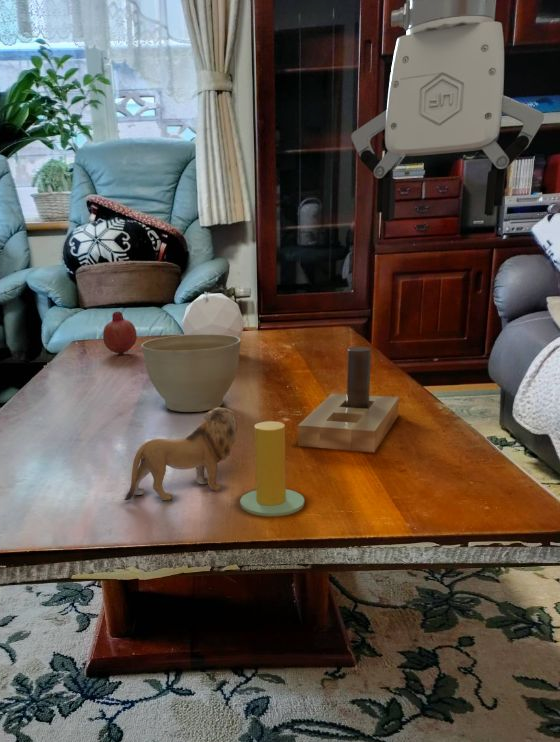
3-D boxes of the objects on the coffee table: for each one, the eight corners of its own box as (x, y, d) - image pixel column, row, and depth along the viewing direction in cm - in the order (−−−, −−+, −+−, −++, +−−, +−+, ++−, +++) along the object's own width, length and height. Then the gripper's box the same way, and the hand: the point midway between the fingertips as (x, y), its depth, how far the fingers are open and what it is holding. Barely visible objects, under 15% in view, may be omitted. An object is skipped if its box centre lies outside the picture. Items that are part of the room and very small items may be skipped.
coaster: (312, 495, 76) (312, 491, 76) (293, 520, 70) (293, 516, 70) (253, 488, 79) (253, 485, 79) (230, 511, 73) (230, 508, 73)
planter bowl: (261, 407, 111) (259, 340, 107) (172, 425, 104) (167, 355, 100) (213, 389, 125) (210, 329, 121) (132, 404, 118) (126, 341, 114)
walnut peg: (370, 421, 101) (372, 347, 97) (366, 427, 98) (368, 351, 94) (348, 419, 102) (350, 346, 98) (343, 426, 99) (345, 350, 95)
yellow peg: (289, 496, 75) (288, 422, 72) (280, 507, 72) (279, 431, 69) (262, 493, 76) (260, 420, 73) (252, 503, 74) (250, 428, 71)
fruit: (119, 358, 157) (115, 314, 154) (97, 355, 163) (93, 312, 159) (145, 352, 163) (141, 309, 159) (123, 349, 168) (119, 308, 164)
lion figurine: (225, 470, 85) (222, 400, 82) (248, 483, 80) (246, 409, 77) (116, 498, 78) (108, 423, 75) (135, 513, 74) (127, 434, 71)
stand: (398, 416, 102) (399, 397, 101) (374, 453, 88) (374, 430, 87) (331, 412, 107) (331, 393, 105) (297, 446, 92) (297, 425, 91)
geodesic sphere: (245, 334, 143) (243, 274, 147) (178, 337, 144) (177, 278, 148) (245, 365, 158) (243, 310, 161) (184, 368, 158) (183, 313, 162)
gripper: (345, 23, 62) (341, 223, 68) (558, -14, 55) (532, 214, 61) (363, 39, 68) (358, 221, 74) (556, 8, 61) (533, 212, 67)
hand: (437, 217), depth 68 cm, fingers open, 9 cm apart
